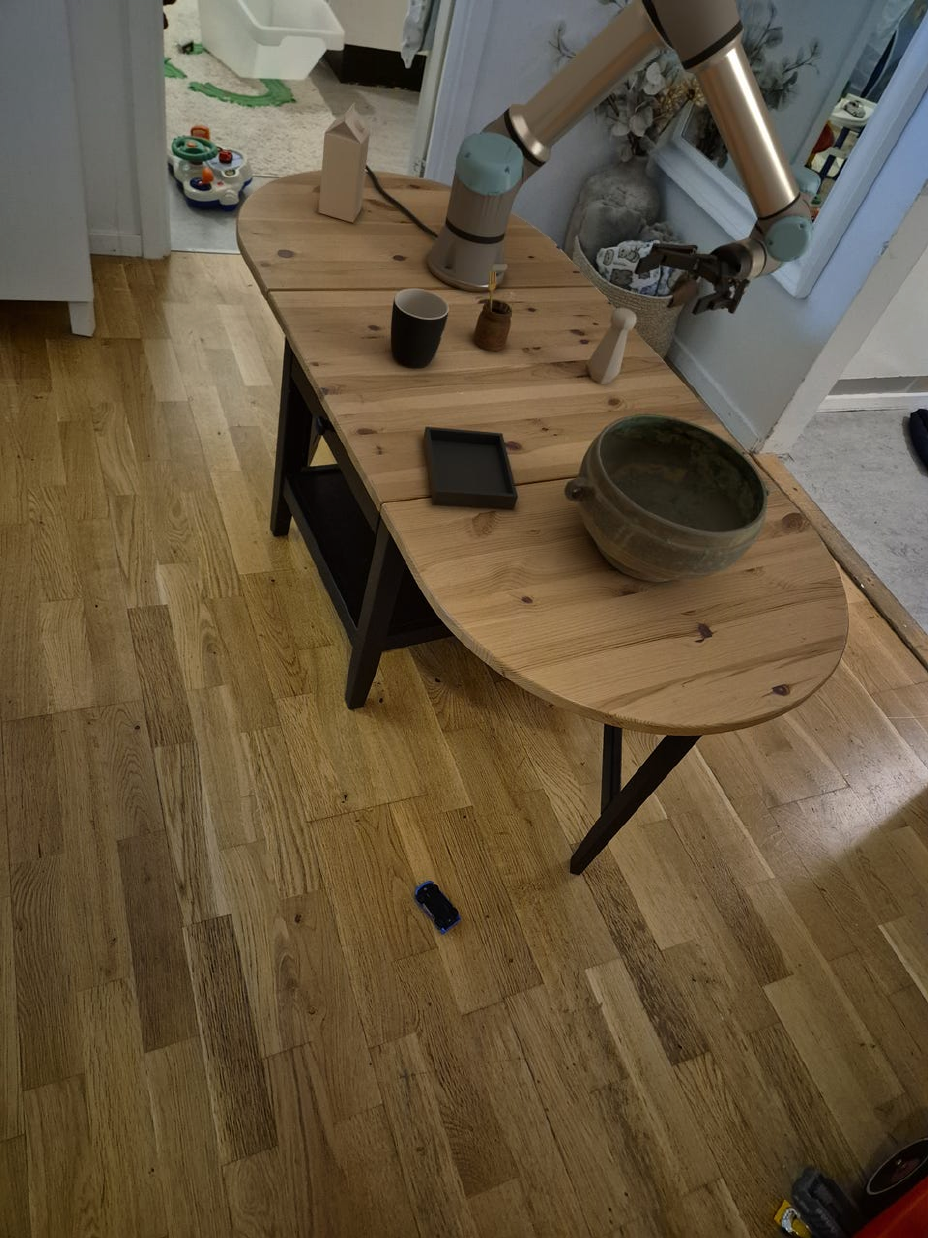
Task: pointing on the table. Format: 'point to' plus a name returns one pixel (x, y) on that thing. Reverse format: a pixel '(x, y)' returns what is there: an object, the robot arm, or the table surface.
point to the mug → (417, 326)
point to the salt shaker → (611, 347)
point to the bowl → (668, 498)
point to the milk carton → (344, 166)
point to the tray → (469, 468)
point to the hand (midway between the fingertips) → (666, 286)
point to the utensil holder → (493, 321)
